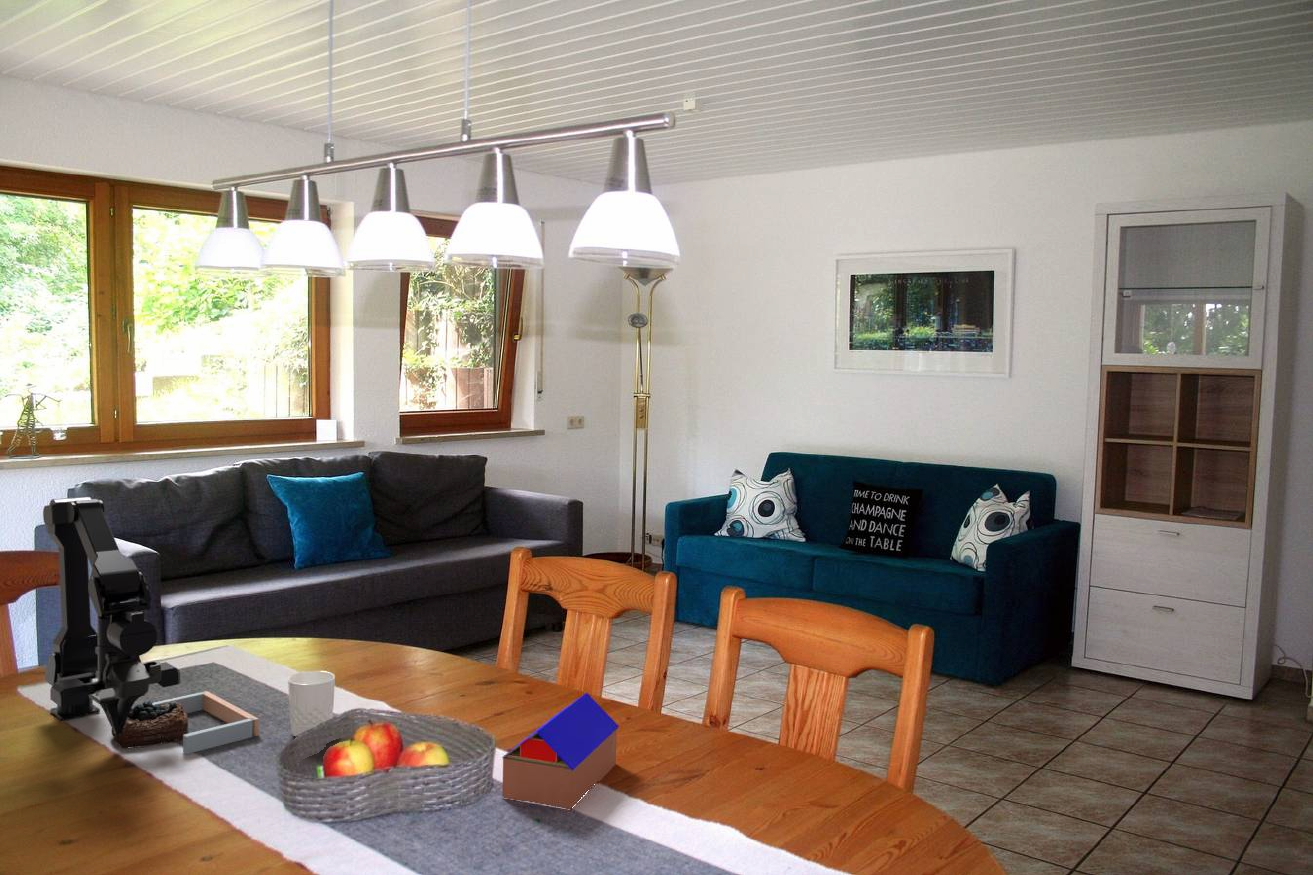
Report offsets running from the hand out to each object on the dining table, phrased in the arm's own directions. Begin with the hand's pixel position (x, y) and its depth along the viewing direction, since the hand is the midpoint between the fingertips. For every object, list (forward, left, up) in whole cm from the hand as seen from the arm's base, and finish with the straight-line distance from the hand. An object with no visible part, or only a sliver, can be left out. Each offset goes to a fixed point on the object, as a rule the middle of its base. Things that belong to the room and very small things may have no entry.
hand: (117, 733), depth 173 cm
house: (+61, +45, -3) cm, 76 cm away
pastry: (-3, +6, -3) cm, 7 cm away
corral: (0, +13, -3) cm, 13 cm away
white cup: (+15, +27, -3) cm, 31 cm away
